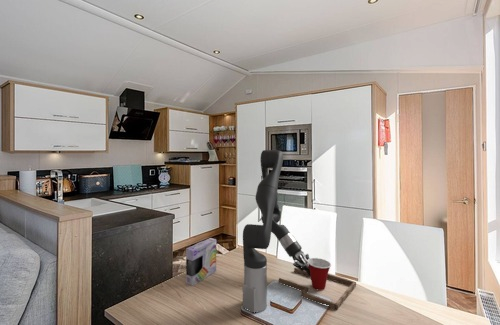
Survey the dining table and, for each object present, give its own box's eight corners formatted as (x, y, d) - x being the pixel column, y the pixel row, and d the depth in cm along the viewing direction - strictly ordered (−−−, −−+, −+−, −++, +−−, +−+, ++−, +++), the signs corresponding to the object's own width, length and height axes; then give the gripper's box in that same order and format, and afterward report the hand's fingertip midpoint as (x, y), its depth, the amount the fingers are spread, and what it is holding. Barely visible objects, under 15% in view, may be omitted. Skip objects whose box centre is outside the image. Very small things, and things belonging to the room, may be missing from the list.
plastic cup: (334, 293, 115) (334, 266, 114) (309, 293, 115) (310, 266, 115) (327, 281, 126) (327, 257, 125) (305, 281, 126) (305, 257, 126)
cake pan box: (191, 287, 120) (191, 250, 120) (183, 284, 123) (183, 248, 122) (217, 271, 137) (217, 238, 136) (210, 269, 139) (209, 237, 139)
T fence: (336, 310, 102) (337, 305, 102) (274, 286, 121) (274, 281, 121) (355, 286, 121) (356, 282, 121) (298, 268, 140) (298, 265, 140)
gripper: (288, 244, 122) (312, 277, 115) (301, 237, 133) (323, 267, 126) (278, 252, 126) (301, 285, 119) (292, 245, 136) (313, 274, 129)
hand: (312, 275), depth 122 cm, fingers closed
